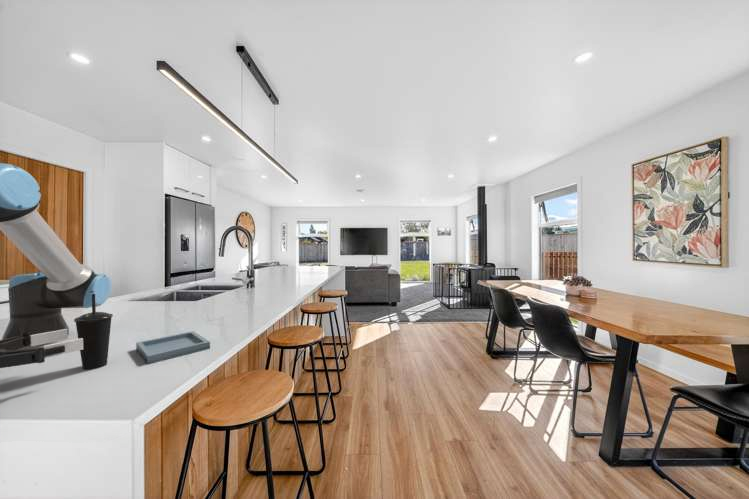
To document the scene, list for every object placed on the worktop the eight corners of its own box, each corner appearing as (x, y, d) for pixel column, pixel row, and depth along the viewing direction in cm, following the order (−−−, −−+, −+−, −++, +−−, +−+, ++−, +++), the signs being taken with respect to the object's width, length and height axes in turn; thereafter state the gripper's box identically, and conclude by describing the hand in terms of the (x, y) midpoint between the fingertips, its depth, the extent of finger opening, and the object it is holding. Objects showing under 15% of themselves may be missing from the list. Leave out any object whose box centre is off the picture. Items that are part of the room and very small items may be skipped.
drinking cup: (90, 373, 76) (88, 297, 75) (67, 370, 77) (65, 295, 77) (121, 361, 83) (119, 291, 83) (99, 359, 85) (98, 290, 84)
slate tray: (136, 349, 92) (136, 342, 92) (193, 337, 104) (193, 331, 104) (148, 364, 82) (147, 356, 82) (210, 348, 94) (209, 341, 94)
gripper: (-76, 371, 65) (61, 343, 83) (-72, 406, 52) (90, 363, 70) (-77, 338, 65) (60, 317, 83) (-74, 364, 52) (89, 332, 70)
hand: (74, 338), depth 76 cm, fingers open, 13 cm apart
